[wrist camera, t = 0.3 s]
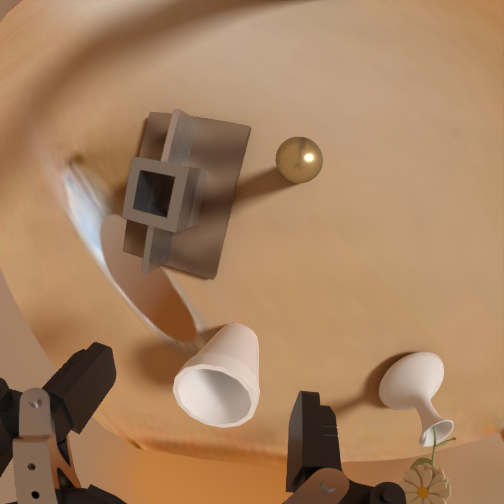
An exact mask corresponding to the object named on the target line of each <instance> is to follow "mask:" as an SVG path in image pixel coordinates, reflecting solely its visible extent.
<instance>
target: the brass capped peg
mask: <svg viewBox="0 0 504 504" xmlns="http://www.w3.org/2000/svg"><path fill="white" fill-rule="evenodd" d="M322 164H323V156H322V153H321V150H320V149H319V147H318V146H317V145H316V144H315V143H314V142H313V141H311V140H310V139H308V138H304V137H293V138H290V139H288V140H286V141H285V142H283V143H282V144H281V146H280V147H279V149H278V151H277V154H276V165H277V168H278V170H279V172H280V173H281V174H282V175H283V177H285V178H286V179H287V180H289V181H291V182H294V183H305V182H308V181H310V180H312V179H314V178H315V177H316V176H317V175H318V174H319V172H320V170H321V168H322Z"/></svg>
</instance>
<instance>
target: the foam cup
mask: <svg viewBox="0 0 504 504" xmlns="http://www.w3.org/2000/svg"><path fill="white" fill-rule="evenodd" d="M258 372H259V347H258V340H257V336H256V335H255V334H254V332H253V331H252V330H251V329H250V328H248V327H246V326H244V325H242V324H234V323H232V324H229V325H225V326H223V327H222V328H221V329H220V330H219V331H218V332H217V333H216V334H215V335H214V336H213V337H212V338H211V339H210V340H209V341H208V343H207V344H206V345H205V346H204V347H203V348H202V349H201V350H200V351H199V352H198V353H197V354H196V355H195V356H192V357H191V358H190V359H189V360H188V361H187V362H186V363H185V364H184V365H183V366H182V367H181V369H180V371H179V372H178V374H177V375H176V377H175V380H174V386H173V392H174V395H175V397H176V400H177V402H178V404H179V405H180V406H181V408H182V409H183V410H184V411H185V412H186V413H187V414H188V415H189V416H191V417H193V418H194V419H196V420H198V421H200V422H202V423H204V424H206V425H211V426H217V427H223V428H225V427H232V426H239V425H241V424H243V423H244V422H246V421H247V420H249V419H250V418H252V416H253V414H254V412H255V409H256V407H257V404H258V399H259V395H260V389H259V385H258Z"/></svg>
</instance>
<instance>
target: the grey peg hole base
mask: <svg viewBox="0 0 504 504" xmlns="http://www.w3.org/2000/svg"><path fill="white" fill-rule="evenodd" d="M191 117H192V116H191ZM171 118H172V114H168V113H158V112H150V114H149V118H148V121H147V125H146V129H145V133H144V137H143V141H142V145H141V150H140V154H139V157H140V158H146V159H152V160H158V161H161V158H162V153H163V149H164V145H165V141H166V137H167V133H168V129H169V125H170V122H171ZM193 118H194V119H196V120H197V121H198V124H197V128H196V131H195V135H194V139H193V143H192V147H191V151H190V155H189V159H188V164H187V166H190V167H194V168H199V169H204V170H209V175H208V180H207V184H206V188H205V193H204V197H203V201H202V206H201V211H200V215H199V220H198V225H196V226H193V227H190V228H188V229H185V230H182V231H180V232H177V233H174V232H173V236H172V242H171V247H170V253H169V259H168V263H166V264H164V265H166V266H170V267H173V268H176V269H179V270H182V271H185V272H189V273H192V274H195V275H198V276H202V277H205V278H208V279H212V280H213V279H214V278H215V277H216V274H217V269H218V265H219V260H220V256H221V251H222V247H223V242H224V238H225V234H226V229H227V225H228V221H229V216H230V212H231V208H232V204H233V200H234V195H235V191H236V187H237V183H238V179H239V175H240V171H241V167H242V163H243V159H244V155H245V151H246V147H247V143H248V139H249V135H250V131H251V128H250V126H246V125H241V124H236V123H230V122H225V121H219V120H213V119H206V118H199V117H193ZM174 181H175V177H174V176H170V175H166V179H165V183H164V188H163V193H162V198H161V203H160V205H162V206H166V207H169V205H170V200H171V195H172V190H173V186H174ZM147 229H148V225H146V224H142V223H138V222H135V221H131V220H128V219H127V225H126V231H125V240H124V247H123V251H124V252H127V253H130V254H133V255H136V256H139V257H142V258H143V257H144V249H145V242H146V236H147Z"/></svg>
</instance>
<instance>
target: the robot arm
mask: <svg viewBox="0 0 504 504" xmlns="http://www.w3.org/2000/svg"><path fill="white" fill-rule="evenodd" d="M115 380H116V369H115V363H114V358H113V352H112V349H111V347H109V346H106V345H103V344H100V343H97V342H94V343H93V344H92V345H91V346H90V347H89V348H88V349H87V350H85V349H83V350H81V351H79V352H77V353H75V354H73V355H72V356H71V357H70V358H69V360H68V361H67V363H65V364H64V365H63V366H62V368H60V369H59V370H58V371H57V372H56V374H54V376H53V377H52V378H51V379H50V380H49V381H48V382H47V383H46V384H45V385H44V387H42V388H41V389H40V388H31V389H28V390H26V391H25V392H24V393H23V392H19V391H16V390H12V389H9V387H8V385H7V383H6V382H5V380H3V379H2V378H0V477H1V475H2V474H3V472H4V470H5V469H6V467H7V466H8V464H9V462H10V461H11V459H12V458H13V464H14V477H15V486H16V495H17V502H12V503H7V504H127V503H125V502H124V501H122V500H121V499H119V498H118V497H117V496H115V495H112V494H110V493H108V492H106V491H104V490H102V489H99V488H97V487H95V486H93V485H91V484H90V486H89V488H88V489H86V488H82V487H81V485H80V482H79V479H78V478H77V475H76V473H75V469H74V464H73V460H72V454H71V448H70V442H69V436H68V433H69V432H70V430H72V431H74V432H76V433H78V434H80V433H81V431H82V430H83V428H84V427H85V425H86V424H87V422H88V421H89V419H90V418H91V416H92V415H93V413H94V412H95V411H96V409H97V408H98V406H99V405H100V403H101V402H102V400H103V399H104V398H105V396H106V395H107V393H108V392H109V390H110V389H111V388H112V386H113V385H114V383H115ZM336 427H337V424H336V416H335V414H334V413H333V411H332V409H331V408H330V406H323V405H320V396H319V393H318V392H308V391H300V392H299V394H298V397H297V400H296V402H295V405H294V408H293V411H292V413H291V417H290V421H289V435H288V459H287V477H286V492H293V494H292V495H291V496H290V497H289V498H288V499H287V500H286V501H285V502H284V503H282V504H407V503H406V496H405V492H404V490H403V489H402V488H401V487H400V486H399V485H398V484H395V483H393V482H383V483H380V484H379V485H377V486H375V487H372V486H367V485H362V484H358V483H355V482H353V481H351V480H350V479H348V478H347V476H346V475H345V474H344V473H343V471H342V469H341V460H340V450H339V441H338V437H337V435H338V432H337V428H336Z"/></svg>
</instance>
